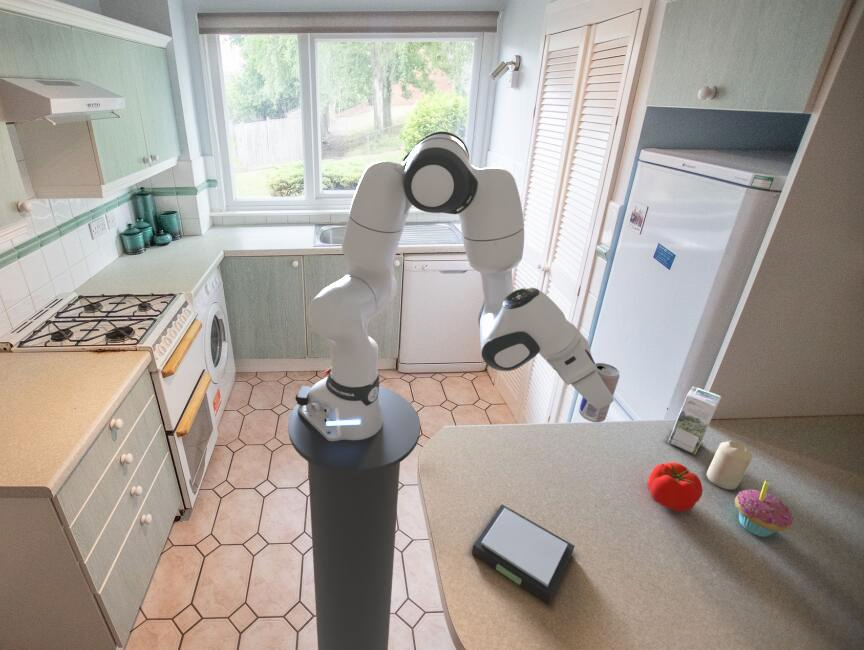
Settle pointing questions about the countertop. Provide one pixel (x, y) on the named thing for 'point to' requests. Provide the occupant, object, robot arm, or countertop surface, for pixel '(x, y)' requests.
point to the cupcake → (762, 512)
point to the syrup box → (694, 419)
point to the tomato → (674, 486)
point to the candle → (729, 464)
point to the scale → (524, 552)
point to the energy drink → (610, 380)
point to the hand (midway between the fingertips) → (602, 391)
